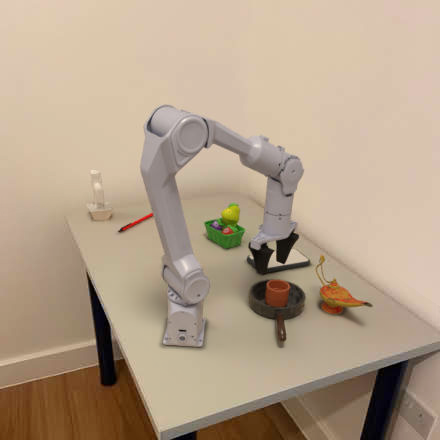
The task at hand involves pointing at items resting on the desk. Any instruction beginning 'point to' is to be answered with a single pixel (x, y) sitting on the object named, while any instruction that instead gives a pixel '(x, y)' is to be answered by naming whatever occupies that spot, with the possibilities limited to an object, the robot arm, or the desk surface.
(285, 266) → the phone case
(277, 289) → the terracotta cup
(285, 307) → the pan
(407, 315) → the desk surface
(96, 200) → the figurine
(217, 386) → the desk surface
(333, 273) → the desk surface
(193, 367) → the desk surface
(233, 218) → the fruit basket
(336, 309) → the magic lamp
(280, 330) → the pan handle
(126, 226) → the pen
